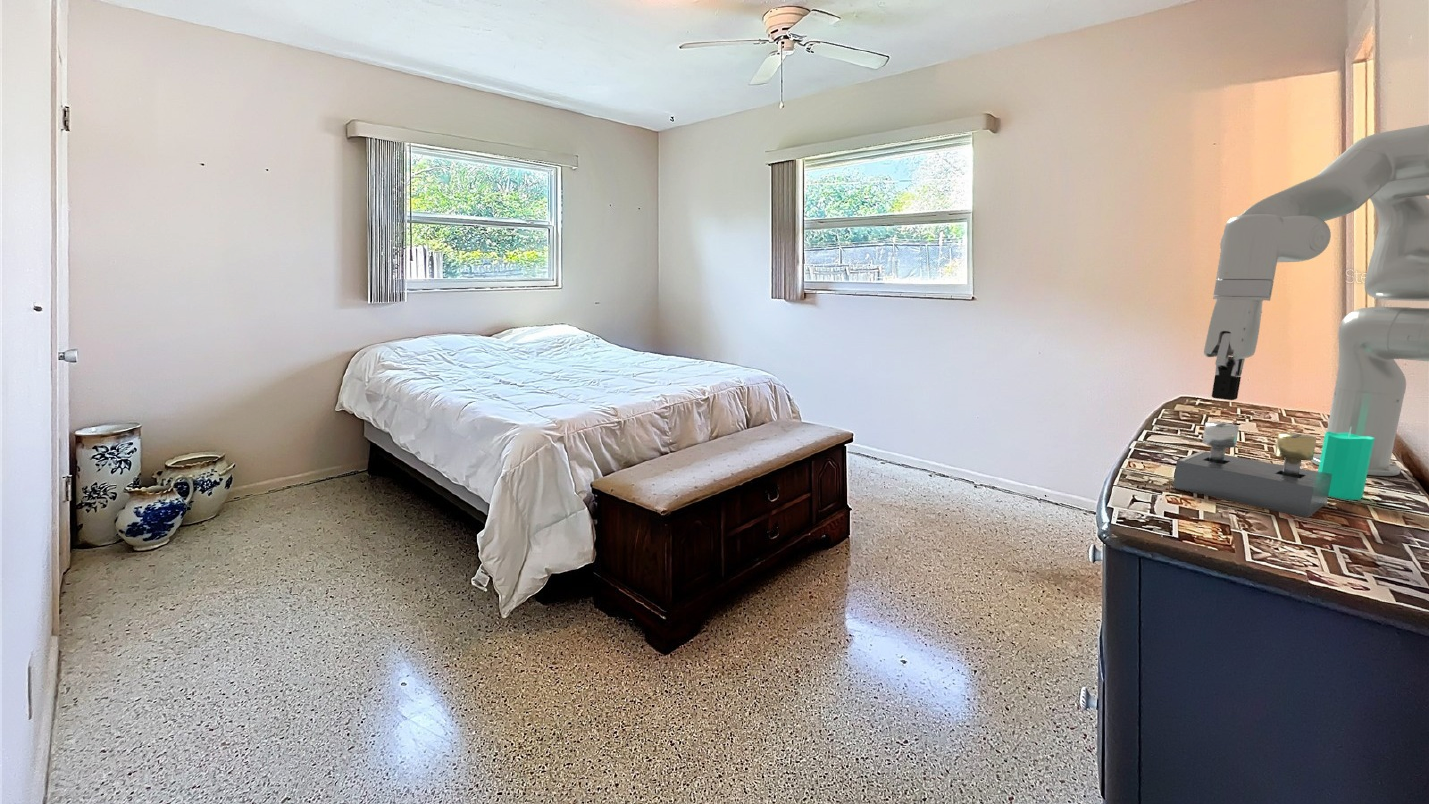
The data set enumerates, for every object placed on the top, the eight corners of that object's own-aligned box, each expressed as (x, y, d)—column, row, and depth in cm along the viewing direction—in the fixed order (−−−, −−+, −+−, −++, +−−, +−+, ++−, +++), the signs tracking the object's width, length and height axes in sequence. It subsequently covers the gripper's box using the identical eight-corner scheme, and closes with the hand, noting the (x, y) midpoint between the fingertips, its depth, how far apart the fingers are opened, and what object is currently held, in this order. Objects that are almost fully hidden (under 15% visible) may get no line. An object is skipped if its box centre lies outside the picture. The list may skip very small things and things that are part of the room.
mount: (1197, 476, 120) (1201, 450, 119) (1326, 503, 105) (1332, 473, 104) (1172, 488, 113) (1176, 460, 112) (1307, 518, 98) (1313, 486, 97)
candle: (1372, 501, 107) (1386, 431, 104) (1330, 498, 108) (1343, 429, 106) (1345, 489, 112) (1358, 423, 110) (1305, 487, 114) (1317, 422, 111)
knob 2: (1274, 476, 108) (1283, 430, 106) (1311, 483, 104) (1320, 436, 102) (1266, 481, 105) (1275, 434, 103) (1303, 488, 101) (1312, 439, 100)
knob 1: (1204, 463, 115) (1210, 420, 114) (1235, 469, 112) (1242, 424, 110) (1194, 467, 113) (1201, 423, 111) (1226, 473, 109) (1234, 428, 108)
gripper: (1229, 291, 114) (1212, 392, 117) (1199, 290, 105) (1182, 398, 108) (1283, 292, 108) (1264, 398, 111) (1257, 290, 99) (1237, 406, 103)
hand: (1224, 398), depth 110 cm, fingers closed
